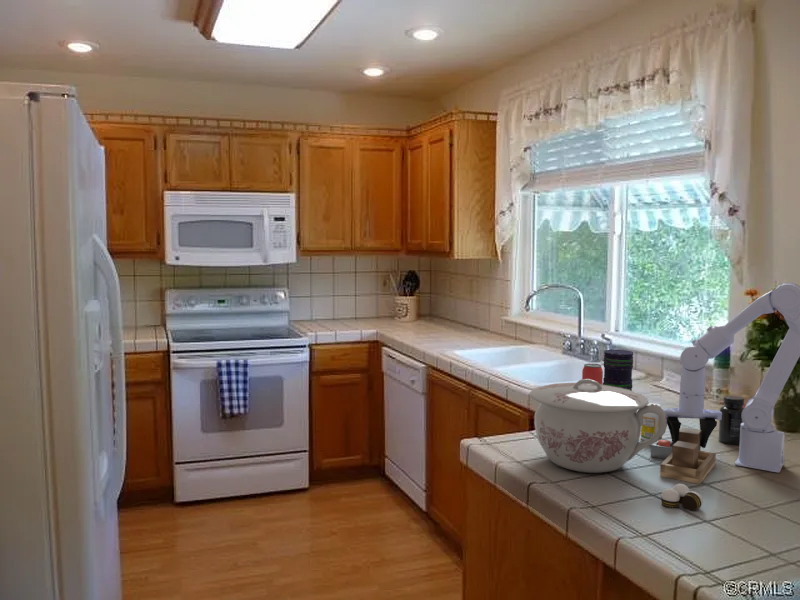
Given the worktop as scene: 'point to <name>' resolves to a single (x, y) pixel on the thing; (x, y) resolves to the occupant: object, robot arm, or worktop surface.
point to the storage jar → (618, 368)
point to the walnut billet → (685, 455)
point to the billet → (690, 436)
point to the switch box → (661, 450)
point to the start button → (664, 443)
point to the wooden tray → (687, 474)
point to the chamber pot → (592, 424)
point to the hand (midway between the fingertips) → (688, 446)
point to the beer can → (593, 372)
